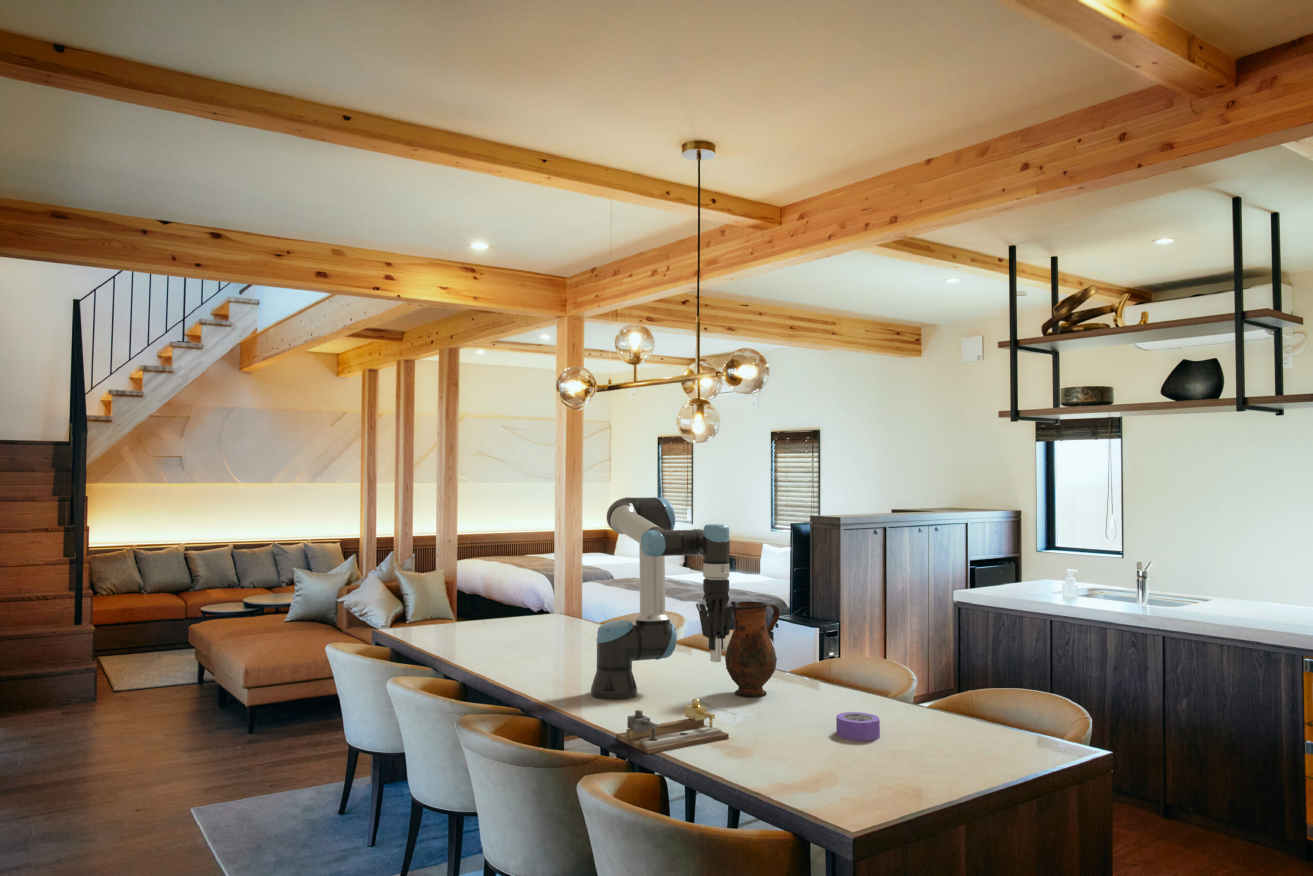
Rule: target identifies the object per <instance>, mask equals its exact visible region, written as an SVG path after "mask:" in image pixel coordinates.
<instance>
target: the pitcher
mask: <svg viewBox="0 0 1313 876" xmlns="http://www.w3.org/2000/svg"><path fill="white" fill-rule="evenodd" d="M768 607H770V608H772V610H773V613H774V614H773V618H772V620H771V622H770V624H769V625H768V626H767V620H766V619H767V608H768ZM732 615H733V618H734V628H733V631H732V633H731V637H730V639H729V642H728V645H727V647H726V650H725V651H726V653H725V655H724V659H725V660H724V661H725V669H726V670H727V672H728V675H729V676H730V678H731V680H732V681H733V682H734V684H735V685H737V687H738V688H737V690H735V691H734V695H735V696H736V697H739V698H740V697H741V698H748V699H749V698H754V699H755V698H762V697H765V696H766V695H767V694H768V693H767V691H766V690H764V688H763V686H765V684H767V682H768V681H770V679H771V677H772V676H773V674H774V673H775V671H776V669H777V661H778V658H777V655H776V654H777V653H776V650H775V647H774V644H773V642H772V640H771V637H770V634H771V632H772V630H773V628H775V625H777V623H778V622H779V619H780V610H779V608H778V606H776V605H774V604H769V603H766V602H761V601H737V602H736V605H735V607H734V609H733V614H732Z"/></svg>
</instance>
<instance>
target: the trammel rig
mask: <svg viewBox="0 0 1313 876" xmlns="http://www.w3.org/2000/svg"><path fill="white" fill-rule="evenodd" d="M643 714H644V713H643V710H640V709H637V710H635V711H634V714H633V715H627V723H626V724H627V729H626V731H625V732H620V733H616V734H615V736H616V737H615V739H616V740H618V741H621V742H622V743H624V744H627V745H629V746H630V747H631V746H632V747H634V748H635V749H637V750H640V751H641V752H643V753H646V754H647V755H650V754H655V753H661V752H666V751H671V750H675V749H677V750H678V749H681V748H686V747H691V746H697V745H702V744H707V743H713V742H717V741H722V740H723V741H724V740H728V739H729V733H727V732H724V731H723V730H722V729H720V728H718V727H715V726H713V725H712V728H710V727H709V725H706V724H705V719H702V720H697V721H695V720H692V719H690V718H685V719H679V720H673V721H668V722H662V723H661V722H660V723H655V722H652V721H651V718H650V717H648V716H646V715H643Z"/></svg>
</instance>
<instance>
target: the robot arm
mask: <svg viewBox="0 0 1313 876" xmlns="http://www.w3.org/2000/svg"><path fill="white" fill-rule="evenodd" d="M606 522H607V525H608V526H609V528H610V529H611V530H613V532H615V533H617V534H620V535H626V536H628V537H629V538H630V539H632V540H633V541H635V542H637V543H638V544H639V614H638V615H637V616H636V617H635V624H633V622H632V621H630V620H615V621H614V620H613V621H609V622H606V623H603V624H601V625H600V626H599V627H598V629H597V634H596V641H595V642H596V672H595V674H594V677H593V681H592V683H591V687H590V695H591V696H592V697H593V698H596V699H600V700H610V701H611V700H612V701H613V700H615V701H616V700H617V701H618V700H626V699H631V698H634V697H637V695H638V687H637V684H636V680H635V677H634V673H633V662H634V661H635V662H636V661H637V662H638V661H646V660H647V661H648V660H649V661H650V660H657V661H658V660H662V659H668V658H669V657H671V656H672V655H673V653H674V652H675V650H676V647H677V639H678V637H677V636H678V634H677V629H676V626H675V624H674V623H672V622H671V618H670V617H669V615H667V613H666V568H665V567H666V564H665V563H666V559H665V557H674V556H702V557H703V562H702V563H703V564H702V566H703V567H702V569H703V570H702V577H704V579H703V581H702V583H703V584H702V585H703V587H702V589H703V592H704V594H703V597H702V601H700V602H699V603H696V604H695V607H696V609H697V610H698V611H697V612H698V615H699V620H700V625H701V632H702V636H703V637H706V638H708V650H709V651H710V655H709V656H710V658H709V659H710V662H713V663H721V662H722V650H723V649H724V640H725V639H726V638H727V636H729V635H730V631H731V625H732V619H733V615H734V614H733V609H734V607H735V605H736V603H737V602H736V601H733V600H731V599H730V595H729V591H730V579H729V577H730V551H731V550H730V548H731V547H730V544H731V543H730V542H731V537H730V528H729V527H730V526H728V525H727V524H717V523H716V524H711V523H710V524H705V525H704V526H703V529H700V528H697V529H696V528H695V529H675V525H676V513H675V509H674V506H673V505H672V503H671V502H670V501H669V499H667V498H664V497H656V496H655V497H623V498H619V499H617V500H615V501H614V502H613V503H611V504H610V506H609V508H608V509H607V512H606Z"/></svg>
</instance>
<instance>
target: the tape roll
mask: <svg viewBox="0 0 1313 876" xmlns="http://www.w3.org/2000/svg"><path fill="white" fill-rule="evenodd" d="M835 717H836V718H835V719H836V720H835V721H836V725H835V726H836V728H835V729H836V735H837V737H840V738H842V739H845V740H850V741H859V742H869V741H870V742H871V741H875V740H877V739H879V738H881V729H880V728H881V727H880V726H881V722H880V721H881V720H880V719H881V718H880V717H879V716H878V715H876V714H872V713H868V712H862V711H861V712H858V711H849V712H847V711H846V712H841V713H838V714H836V716H835Z"/></svg>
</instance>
